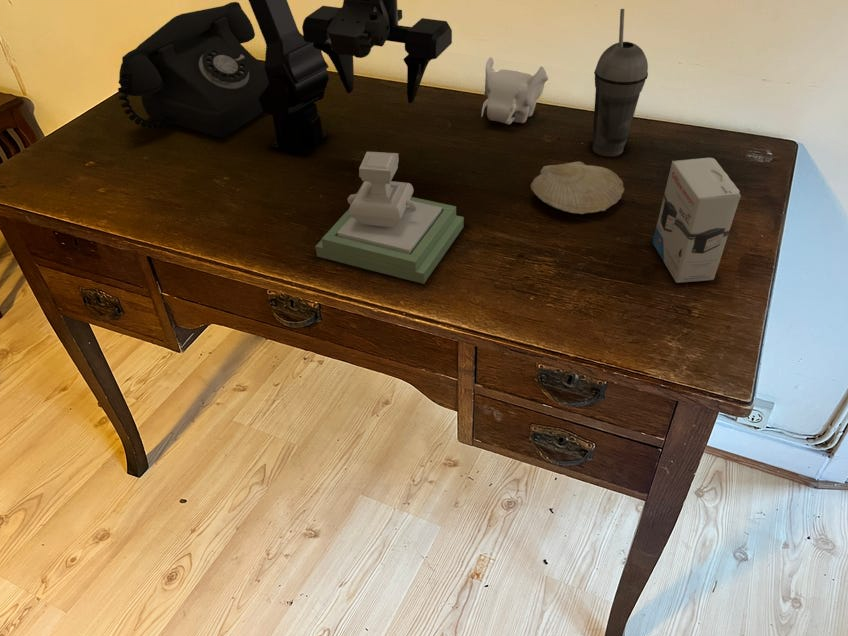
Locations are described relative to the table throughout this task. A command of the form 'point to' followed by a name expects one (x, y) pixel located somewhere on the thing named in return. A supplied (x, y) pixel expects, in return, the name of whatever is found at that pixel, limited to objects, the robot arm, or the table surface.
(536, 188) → the seashell
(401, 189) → the grey blocky piece
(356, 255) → the scale
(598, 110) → the beverage cup
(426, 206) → the square push button
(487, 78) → the elephant figurine
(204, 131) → the rotary telephone
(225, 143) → the table surface
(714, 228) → the ink box
